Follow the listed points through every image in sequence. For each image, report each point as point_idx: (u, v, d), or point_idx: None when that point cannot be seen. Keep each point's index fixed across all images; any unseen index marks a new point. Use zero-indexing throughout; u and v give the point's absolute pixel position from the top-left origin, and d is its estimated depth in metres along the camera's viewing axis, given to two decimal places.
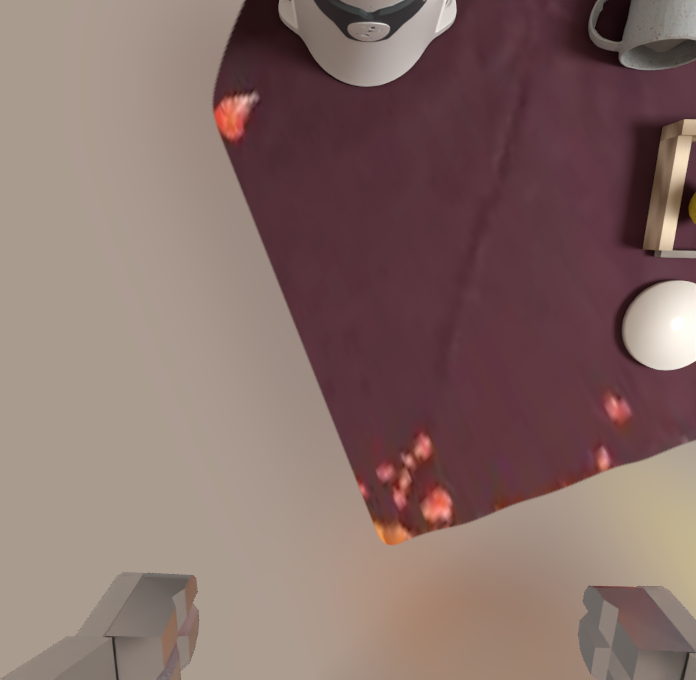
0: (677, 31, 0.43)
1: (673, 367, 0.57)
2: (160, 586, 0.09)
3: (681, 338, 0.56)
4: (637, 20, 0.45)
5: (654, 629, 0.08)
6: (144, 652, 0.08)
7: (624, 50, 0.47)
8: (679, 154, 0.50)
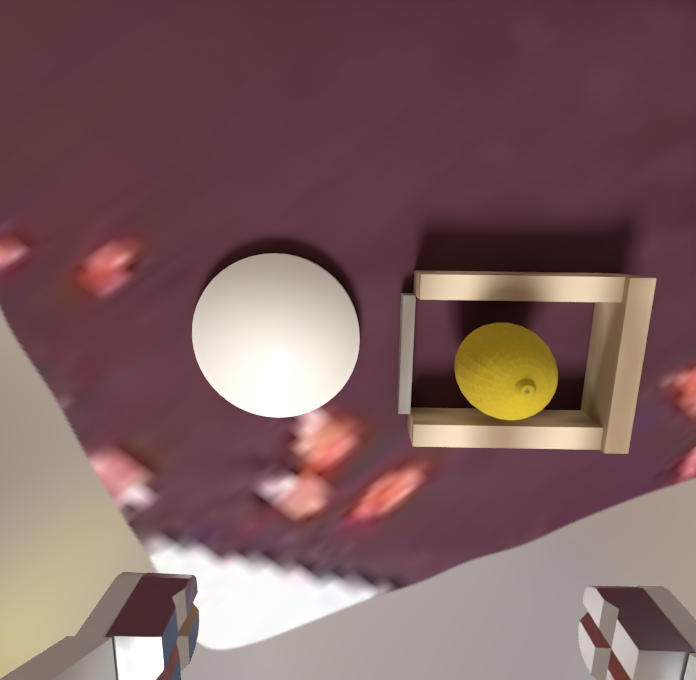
0: None
1: (198, 353, 0.30)
2: (160, 586, 0.09)
3: (255, 357, 0.31)
4: None
5: (653, 629, 0.08)
6: (144, 652, 0.08)
7: None
8: (593, 283, 0.27)
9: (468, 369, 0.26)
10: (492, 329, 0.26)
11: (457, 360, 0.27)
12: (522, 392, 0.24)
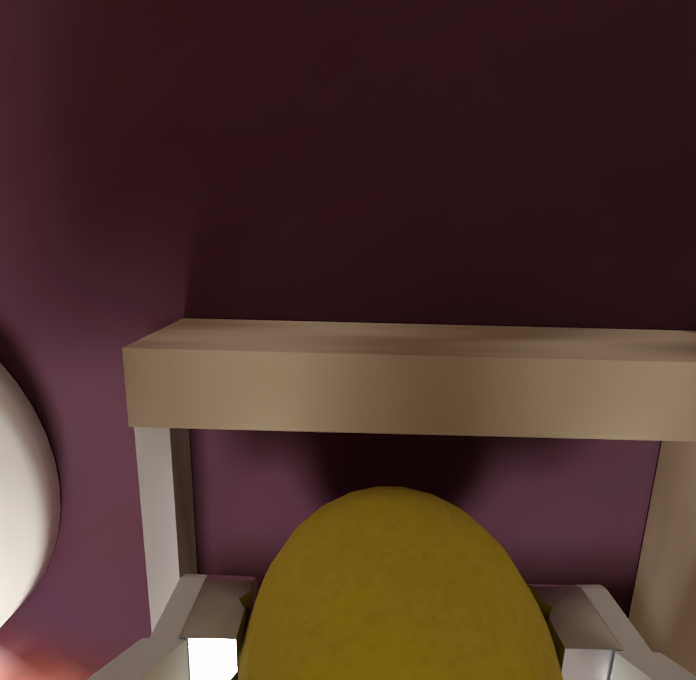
0: None
1: None
2: (225, 588, 0.09)
3: None
4: None
5: (583, 627, 0.08)
6: (218, 654, 0.08)
7: None
8: (693, 384, 0.08)
9: None
10: (344, 555, 0.07)
11: (247, 627, 0.08)
12: None
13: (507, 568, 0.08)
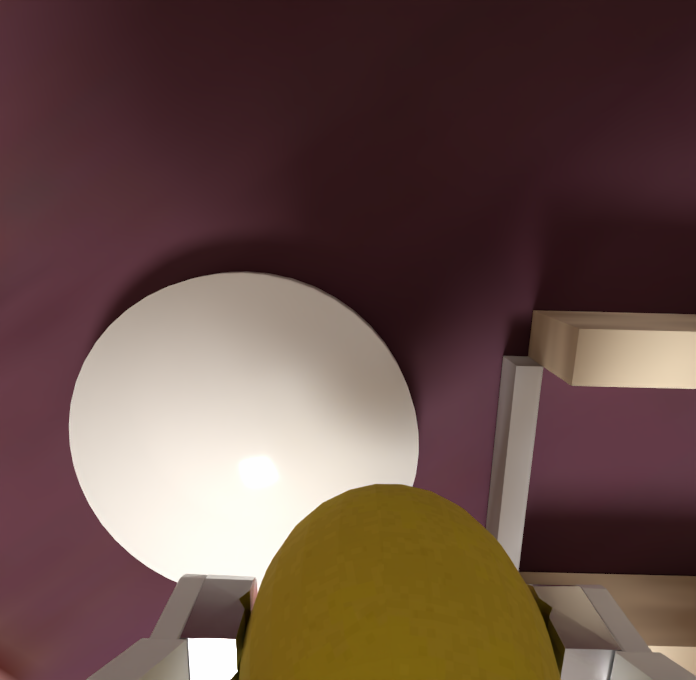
0: None
1: (84, 475, 0.15)
2: (225, 588, 0.09)
3: (202, 486, 0.15)
4: None
5: (583, 627, 0.08)
6: (218, 654, 0.08)
7: None
8: None
9: None
10: (344, 550, 0.07)
11: (248, 621, 0.09)
12: None
13: (504, 563, 0.08)
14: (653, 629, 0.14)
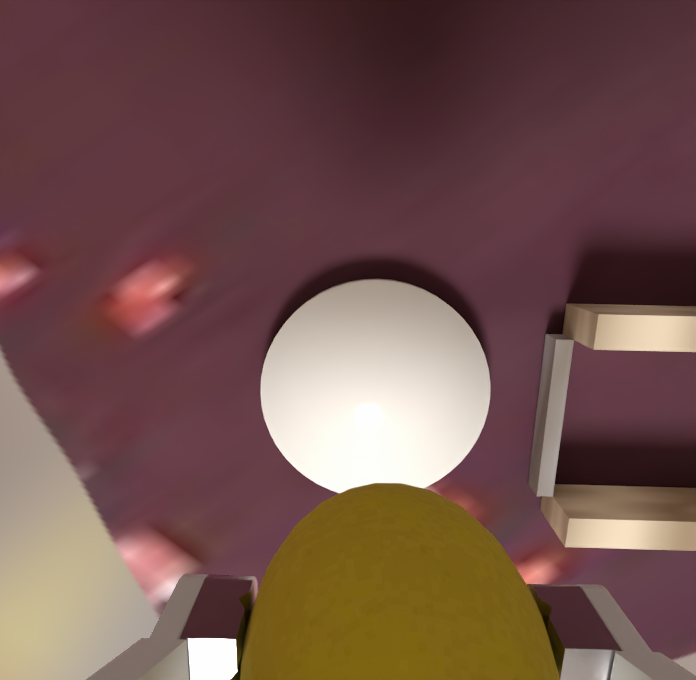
0: None
1: (268, 413, 0.22)
2: (225, 588, 0.09)
3: (345, 420, 0.22)
4: None
5: (583, 627, 0.08)
6: (218, 654, 0.08)
7: None
8: None
9: None
10: (344, 548, 0.08)
11: (249, 619, 0.09)
12: None
13: (503, 561, 0.08)
14: (645, 513, 0.22)
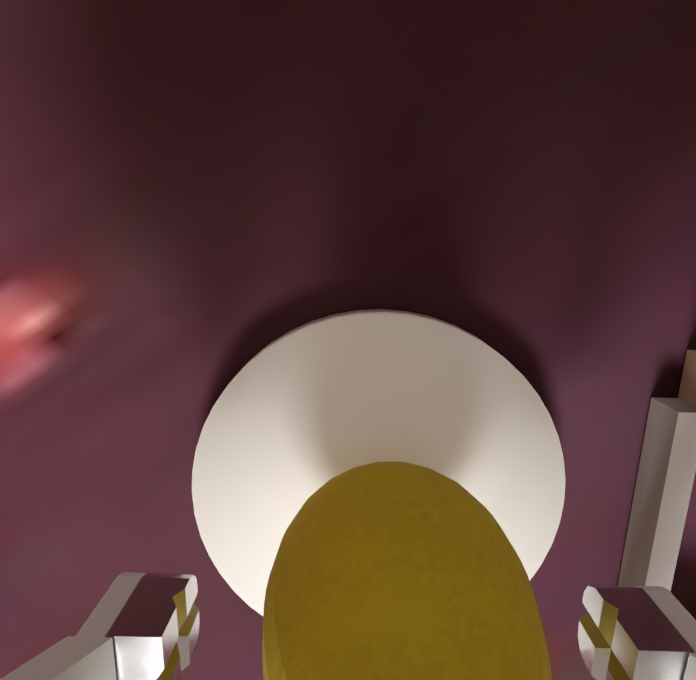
0: None
1: (205, 525, 0.14)
2: (160, 586, 0.09)
3: None
4: None
5: (653, 629, 0.08)
6: (144, 652, 0.08)
7: None
8: None
9: (266, 659, 0.08)
10: (354, 516, 0.09)
11: (268, 583, 0.10)
12: None
13: (493, 527, 0.09)
14: None
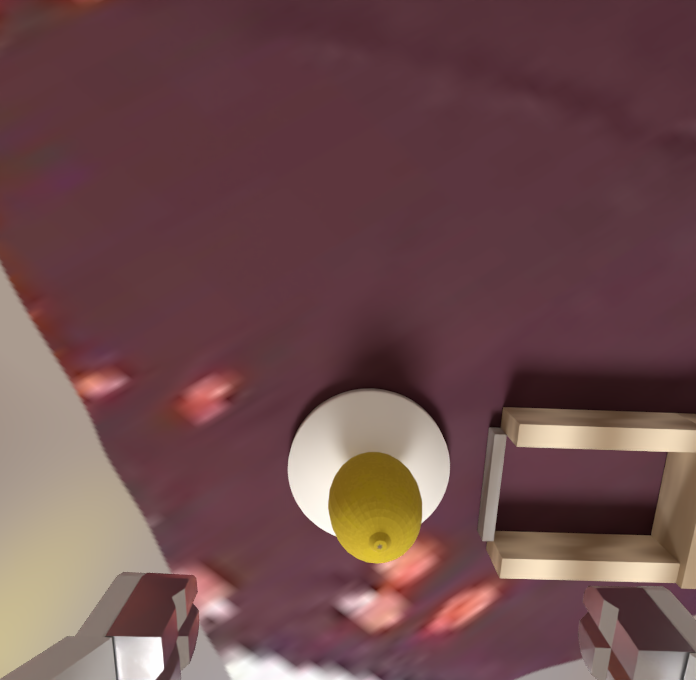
0: None
1: (292, 482, 0.31)
2: (160, 586, 0.09)
3: None
4: None
5: (653, 629, 0.08)
6: (144, 652, 0.08)
7: None
8: (679, 435, 0.29)
9: (332, 510, 0.26)
10: (360, 467, 0.26)
11: (329, 493, 0.27)
12: (375, 547, 0.24)
13: (407, 473, 0.27)
14: (555, 554, 0.31)
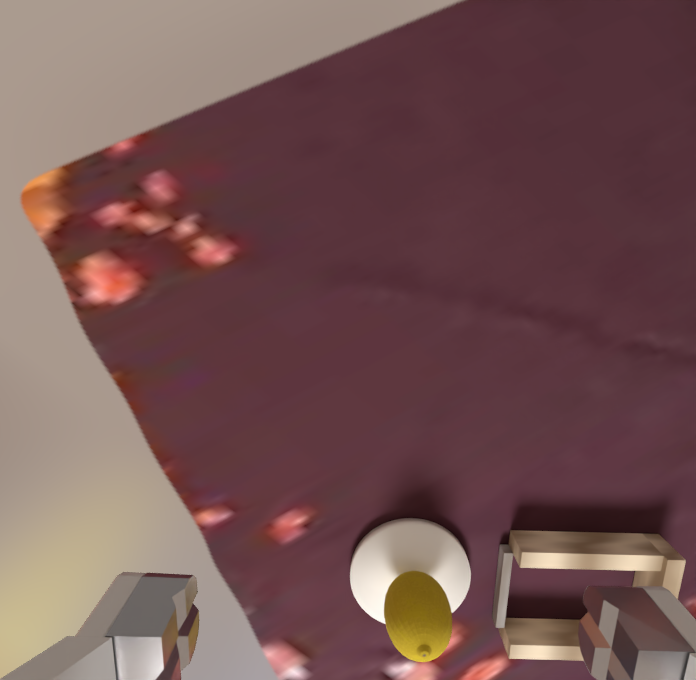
0: None
1: (353, 586, 0.42)
2: (160, 586, 0.09)
3: None
4: None
5: (653, 629, 0.08)
6: (144, 652, 0.08)
7: None
8: (641, 559, 0.39)
9: (389, 623, 0.37)
10: (408, 591, 0.37)
11: (384, 605, 0.38)
12: (420, 655, 0.34)
13: (441, 593, 0.38)
14: (551, 640, 0.42)
